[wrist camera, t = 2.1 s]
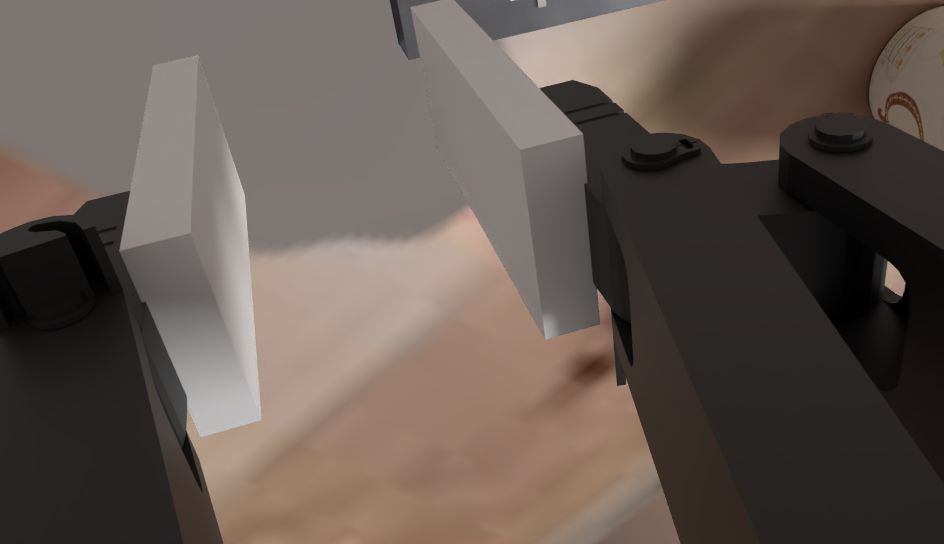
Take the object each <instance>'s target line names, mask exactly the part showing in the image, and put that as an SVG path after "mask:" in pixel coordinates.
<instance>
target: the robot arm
mask: <svg viewBox="0 0 944 544" xmlns="http://www.w3.org/2000/svg"><path fill="white" fill-rule="evenodd" d="M410 8H411V13H412V18H413V24H414V29H415V34H416V39H417V45H418V50H419V55H420V60H421V66H422V71H423V76H424V82H425V86H426V92H427V97H428V103H429V108H430V113H431V119H432V124H433V129H434V134H435V140H436V145H437V149H438V150H439V152H440V154H441V156H442V157H443V159H444V161H445V163H446V165H447V166H448V168H449V170H450V172H451V173H452V175H453V177H454V179H455V181H456V182H457V184H458V186H459V188H460V189H461V191H462V193H463V195H464V196H465V198H466V200H467V202H468V204H469V205H470V207H471V209H472V211H473V212H474V214H475V216H476V218H477V219H478V221H479V223H480V225H481V227H482V228H483V230H484V232H485V234H486V235H487V237H488V239H489V241H490V243H491V244H492V246H493V248H494V250H495V251H496V253H497V255H498V257H499V258H500V260H501V262H502V264H503V266H504V267H505V269H506V271H507V273H508V274H509V276H510V278H511V280H512V281H513V283H514V285H515V287H516V289H517V290H518V292H519V294H520V296H521V297H522V299H523V301H524V303H525V305H526V306H527V308H528V310H529V312H530V313H531V315H532V317H533V319H534V320H535V322H536V324H537V326H538V328H539V329H540V331H541V333H542V335H543V336H544V338H545V340H546V339H549V338H553V337H556V336H560V335H563V334H567V333H571V332H574V331H578V330H581V329H585V328H588V327H592V326H595V325H599V324H600V318H599V307H598V295H597V289H598V290H599V292H600V293H601V294H602V296H603V297H604V299H605V300H606V301H607V303H608V304H609V306H610V307H611V315H612V327H613V340H614V352H615V365H616V378H617V386H619V385H625V384H626V379H627V382H628V385H629V388H630V391H631V394H632V397H633V400H634V403H635V406H636V409H637V412H638V416H639V419H640V422H641V425H642V428H643V431H644V434H645V437H646V440H647V443H648V446H649V449H650V452H651V455H652V458H653V461H654V464H655V467H656V470H657V473H658V476H659V479H660V482H661V485H662V488H663V491H664V494H665V497H666V500H667V503H668V506H669V509H670V513H671V515H672V519H673V522H674V525H675V528H676V531H677V534H678V537H679V540H680V543H681V544H944V151H942V150H940V149H938V148H936V147H934V146H932V145H930V144H928V143H926V142H924V141H922V140H920V139H918V138H916V137H914V136H912V135H910V134H908V133H906V132H904V131H902V130H900V129H898V128H896V127H894V126H892V125H890V124H888V123H885V122H882V121H879V120H876V119H873V118H870V117H863V116H855V115H854V114H852V113H838V115H835V113H827V114H822V115H820V116H818V117H812V118H807V119H803V120H801V121H799V122H796V123H794V124H792V125H789V126H788V127H787V128H786V129H785V130H784V131H783V132H782V133H781V134H780V149H779V160H770V161H759V162H748V163H734V164H721V163H720V162H719V160H718V159H717V158H716V156H715V155H714V153H713V152H712V150H711V149H710V148H709V147H708V146H707V145H706V144H704V143H703V142H702V141H701V140H699V139H696V138H693V137H690V136H686V135H683V134H673V133H652V134H650V133H649V132H648V131H646V130H645V129H644V128H643V127H642V126H641V125H640V124H638V123H637V122H636V121H635V120H634V119H633V118H632V117H631V116H629V115H628V114H627V113H624V110H623V109H621V108H620V107H619V106H618V105H617V104H616V103H612V100H611V99H610V98H609V97H608V96H607V95H605V94H604V93H603V92H602V91H601V90H600V89H599V88H597V87H594V86H590V85H587V84H584V83H581V82H577V81H574V80H571V81H567V82H563V83H559V84H555V85H551V86H547V87H543V88H538V87H537V86H536V84H535V83H534V82H533V81H532V80H531V79H530V78H529V77H528V76H527V75H526V74H525V73H524V72H523V71H522V70H521V69H520V68H519V67H518V66H517V65H516V64H515V63H514V62H513V61H512V60H511V59H510V58H509V56H508V55H507V54H506V53H505V52H504V51H503V50H502V49H501V48H500V47H499V46H498V45H497V44H496V43H495V42H494V41H493V40H492V39H491V38H490V37H489V36H488V35H487V34H486V33H485V32H484V31H483V29H482V28H481V27H480V26H479V25H478V24H477V23H476V22H475V21H474V20H473V19H472V18H471V17H470V16H469V15H468V14H467V13H466V12H465V11H464V10H463V9H462V8H461V7H460V6H459V5H458V4H457V3H456V1H455V0H439V1H435V2H431V3H426V4H422V5H417V6H413V7H410ZM887 261H889V262H890V263H891V264H892V265H893V266H894V267H895V268H896V269H897V270H898V271H899V272H900V274H901V276H902V277H903V279H904V281H905V282H906V284H905V291H904V293H903V296H902V297H901V296H899V295H897V294H895V293H894V292H893V291H891V290H890V289H889V288H887V287H886V286H884V285H885V277H886V269H887ZM187 407H188V410H189V412H190V414H191V416H192V419H193V421H194V423H195V426H196V428H197V430H198V432H199V435H200V437H203V436H207V435H211V434H214V433H218V432H221V431H225V430H228V429H232V428H235V427H239V426H242V425H246V424H249V423H253V422H256V421H260V420H261V408H260V394H259V381H258V367H257V354H256V341H255V327H254V314H253V300H252V287H251V273H250V260H249V246H248V234H247V219H246V206H245V195H244V192H243V189H242V186H241V183H240V180H239V177H238V174H237V171H236V168H235V165H234V162H233V159H232V156H231V153H230V150H229V147H228V144H227V141H226V138H225V135H224V132H223V129H222V126H221V122H220V119H219V116H218V113H217V110H216V107H215V105H214V101H213V98H212V96H211V92H210V90H209V86H208V83H207V80H206V77H205V74H204V72H203V69H202V65H201V62H200V59H199V56H198V55H197V56H192V57H188V58H183V59H179V60H174V61H170V62H165V63H161V64H157V65H153V70H152V76H151V81H150V87H149V92H148V98H147V103H146V108H145V114H144V119H143V125H142V130H141V136H140V141H139V146H138V152H137V157H136V163H135V168H134V174H133V179H132V184H131V190H130V191H128V192H123V193H119V194H115V195H111V196H107V197H102V198H98V199H94V200H90V201H87V202H86V203H85V204H84V205H83V206H82V207H81V208H80V209H79V210H78V211H77V212H76V213H75V214H74V215H65V216H52V217H48V218H44V219H40V220H35V221H31V222H28V223H25V224H23V225H20V226H18V227H15V228H13V229H10V230H8V231H5V232H3V233H2V234H0V544H223V541H222V537H221V534H220V530H219V527H218V523H217V520H216V517H215V513H214V510H213V506H212V503H211V499H210V496H209V492H208V489H207V485H206V482H205V479H204V475H203V472H202V468H201V465H200V461H199V458H198V456H197V454H196V452H195V449H194V447H193V445H192V443H191V440H190V438H189V436H188V434H187V431H186V420H187Z"/></svg>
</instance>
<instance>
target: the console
mask: <svg viewBox="0 0 944 544" xmlns="http://www.w3.org/2000/svg"><path fill="white" fill-rule="evenodd" d="M435 1H439V0H390V3H391V8H392V13H393V18H394V23H395V28H396V33H397V38H398V43H399V45H400V47H401V48H402V50H403V52H404V53H405V54H406V56H407V58H408V60H411V59H416V58H420V55H419V50H418V45H417V39H416V34H415V29H414V24H413V18H412V13H411V8H410V7H413V6H417V5H422V4H426V3H431V2H435ZM455 1H456V3H457V4H458V5H459V6H460V7H461V8H462V9H463V10H464V11H465V12H466V13H467V14H468V15H469V16H470V17H471V18H472V19H473V20H474V21H475V22H476V23H477V24H478V25H479V26H480V27H481V28H482V29H483V31H484V32H485V33H486V34H487V35H488V36H489V37H490V38H491V39H492V40H497V39H501V38H505V37H510V36H514V35H518V34H522V33H527V32H531V31H535V30H539V29H544V28H548V27H552V26H557V25H561V24H565V23H569V22H574V21H578V20H582V19H586V18H591V17H595V16H599V15H603V14H608V13H612V12H616V11H621V10H625V9H629V8H633V7H638V6H642V5H646V4H650V3H655V2H659V1H663V0H514V1H510V0H455Z"/></svg>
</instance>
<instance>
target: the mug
mask: <svg viewBox="0 0 944 544" xmlns="http://www.w3.org/2000/svg"><path fill="white" fill-rule="evenodd" d="M869 102H870V108H871V111H872V114H873V116H874V118H875V119H876V120H879V121H882V122H885V123H888V124H890V125H892V126H894V127H896V128H898V129H900V130H902V131H904V132H906V133H908V134H910V135H912V136H914V137H916V138H918V139H920V140H922V141H924V142H926V143H928V144H930V145H932V146H934V147H936V148H938V149H940V150H942V151H944V6H940V7H936V8H933V9H930V10H928V11H926V12H924V13H922V14H920V15H918V16H916V17H915V18H913V19H912V20H910V21H909V22H908V23H907V24H905V25H904V26H903V27H902V28H901V29H900V30H899V31H898V32H897V33H896V34H895V35H894V36H893V37H892V38H891V40H890V41H889V42H888V44H887V45H886V46H885V48H884V50H883V51H882V53H881V55H880V56H879V58H878V60H877V63H876V65H875V67H874V70H873V73H872V77H871V81H870V87H869Z"/></svg>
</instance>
